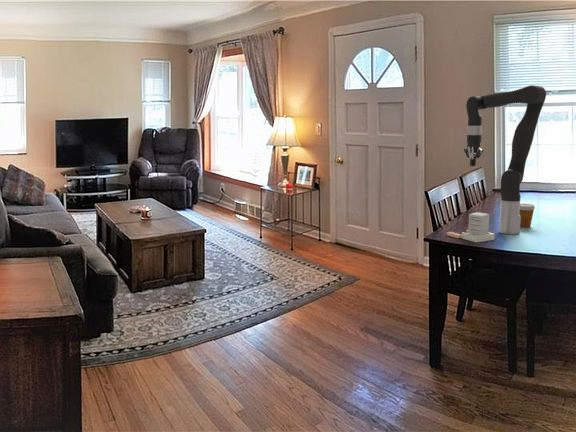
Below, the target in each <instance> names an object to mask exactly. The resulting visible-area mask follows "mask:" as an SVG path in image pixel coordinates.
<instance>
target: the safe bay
mask: <svg viewBox="0 0 576 432" xmlns="http://www.w3.org/2000/svg"><path fill="white" fill-rule="evenodd" d="M461 235H462V238H461V239H463V240H467V241H470V242H474V243H481V242H486V241H493V240H495V238H496V237H495V235H496V233H494V232H490V231H489V234H485V235H478V236H475V235H472V234H468V233H466V232H464V231H462V232H461Z"/></svg>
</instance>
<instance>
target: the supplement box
mask: <svg viewBox="0 0 576 432" xmlns="http://www.w3.org/2000/svg"><path fill="white" fill-rule="evenodd" d="M467 230H468V234H472V235H475V236H478V235H485V234H489V232H490V231H489V230H490V214H489V213H484V212H478V211H477V212H472V213H469V214H468V229H467Z"/></svg>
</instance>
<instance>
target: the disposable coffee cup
mask: <svg viewBox="0 0 576 432" xmlns="http://www.w3.org/2000/svg"><path fill="white" fill-rule="evenodd" d="M535 208H536V207H535V205H534V204H531V203H520V212H519V215H520V216H521V221H520V228H524V229H525V228H527V229H528V228H531V226H532V225H531V224H532V221H533V215H534V210H535Z"/></svg>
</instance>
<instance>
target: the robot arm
mask: <svg viewBox="0 0 576 432" xmlns="http://www.w3.org/2000/svg"><path fill="white" fill-rule="evenodd" d="M546 98H547V91H546V89H545V87H543V86H540V85H535V84H532V85H531V84H530V85H528V86H527V85H526V86H524V87H522V88H521V87H520V88H518V89H516V90H511V91H505V92H504V91H503V92H497V93H495V92H494V93H490V94H487V95H482V96H478V95H477V96H475V95H474V96H473V95H472V96H469V98H468V99H467V100H466V104H465V105H466V107H465V108H466V114H467V117H468V118H467V120H468V121H467V128H466V129H467V130H466V143H467V145H466V147H465V148H463V151H464V153H465V156H466V157H467V158H468V159H469V166H470V167H475V166H476V163H477V159H480V157H481V155H482V153H484V151H485V150H484V149H483V148H482V147H481V143H482V137H483V135H482V134H483V128H482V127H483V126H482V124H483V123H482V122H483V116H482V115H481V114H480V112H479V111H480V110H485V109H492V108H500V107H504V106H507V105H511V104H512V105H514V104H525V105H526V108H525V113H524V115H523V117H522V119H520V121H519V122H518V124H517V126H516V127H515V130H514V133H513V137H512V142H511V159H510V162H509V165H508V168H507V170H505V171H504V172H503V173H502V175H501V177H500V212H499V226H498V228H499V229H498V230H499V231H498V232H499V233H501V234H503V235H509V236H510V235H511V236H512V235H518V234H520V233H521V227H520V221H521V216H520V215H519V212H520V204H521V193H520V191H521V190H520V188H521V183H522V182H523V180H524V175H525V167H526V163H527V159H528V156H529V154H530V150H531V147H532V144H533V141H534V136H535V132H536V129H537V124H538V122H539V119H540V114H541V113H542V109H543V106H544V104H545V101H546Z"/></svg>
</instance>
